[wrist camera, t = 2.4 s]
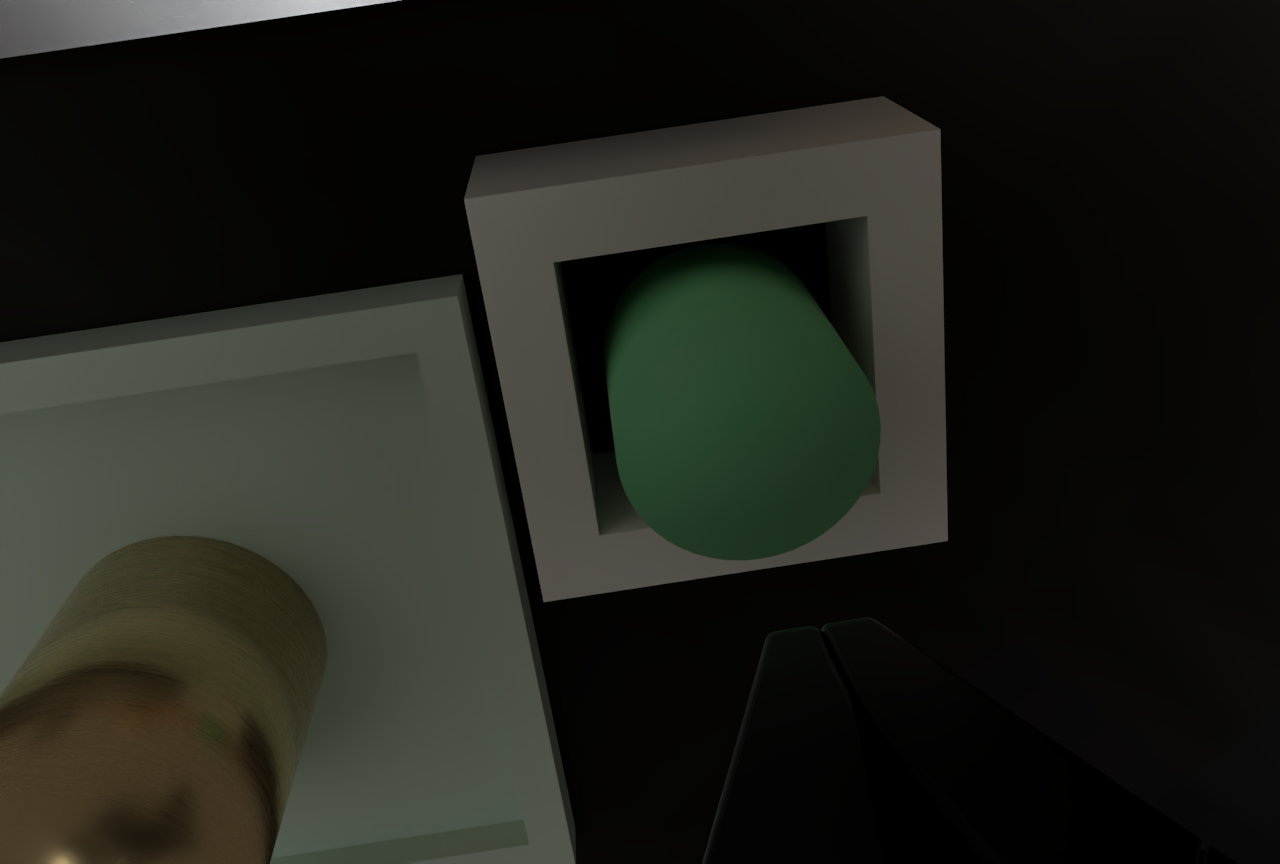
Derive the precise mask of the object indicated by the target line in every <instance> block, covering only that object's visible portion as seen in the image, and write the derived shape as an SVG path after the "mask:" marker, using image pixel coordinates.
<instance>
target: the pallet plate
mask: <svg viewBox="0 0 1280 864" xmlns="http://www.w3.org/2000/svg"><path fill="white" fill-rule="evenodd" d="M394 1H400V0H0V58H7V57H14V56H21V55H28V54H35V53H42V52H49V51H56V50H63V49H69V48H76V47H83V46H90V45H97V44H104V43H111V42H118V41H125V40H131V39H138V38H145V37H152V36H159V35H166V34H173V33H180V32H187V31H194V30H200V29H207V28H214V27H221V26H228V25H235V24H242V23H249V22H256V21H263V20H269V19H276V18H283V17H290V16H297V15H304V14H311V13H318V12H325V11H331V10H338V9H345V8H352V7H359V6H366V5H373V4H380V3H387V2H394Z"/></svg>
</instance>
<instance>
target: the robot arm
mask: <svg viewBox="0 0 1280 864" xmlns="http://www.w3.org/2000/svg"><path fill="white" fill-rule="evenodd" d="M702 864H1238V863H1236V862H1235V861H1233V860H1232V859H1230V858H1229V857H1227V856H1226V855H1224V854H1223V853H1221V852H1220V851H1218V850H1217V849H1215V848H1213V847H1207V848H1206V849H1205V850H1204V843H1203V841H1202V840H1201V839H1200V838H1198V837H1197V836H1195V835H1194V834H1192V833H1191V832H1189V831H1188V830H1186V829H1185V828H1183V827H1182V826H1181V825H1179V824H1178V823H1176V822H1175V821H1173V820H1172V819H1170V818H1169V817H1167V816H1166V815H1164V814H1163V813H1161V812H1160V811H1158V810H1157V809H1155V808H1154V807H1152V806H1151V805H1149V804H1148V803H1146V802H1145V801H1143V800H1142V799H1140V798H1139V797H1138V796H1136V795H1135V794H1133V793H1132V792H1130V791H1129V790H1127V789H1126V788H1124V787H1123V786H1121V785H1120V784H1118V783H1117V782H1115V781H1114V780H1112V779H1111V778H1109V777H1108V776H1106V775H1105V774H1103V773H1102V772H1100V771H1099V770H1097V769H1096V768H1094V767H1093V766H1092V765H1090V764H1089V763H1087V762H1086V761H1084V760H1083V759H1081V758H1080V757H1078V756H1077V755H1075V754H1074V753H1072V752H1071V751H1069V750H1068V749H1066V748H1065V747H1063V746H1062V745H1060V744H1059V743H1057V742H1056V741H1054V740H1053V739H1051V738H1050V737H1048V736H1047V735H1046V734H1044V733H1043V732H1041V731H1040V730H1038V729H1037V728H1035V727H1034V726H1032V725H1031V724H1029V723H1028V722H1026V721H1025V720H1023V719H1022V718H1020V717H1019V716H1017V715H1016V714H1014V713H1013V712H1011V711H1010V710H1008V709H1007V708H1005V707H1004V706H1003V705H1001V704H1000V703H998V702H997V701H995V700H994V699H992V698H991V697H989V696H988V695H986V694H985V693H983V692H982V691H980V690H979V689H977V688H976V687H974V686H973V685H971V684H970V683H968V682H967V681H965V680H964V679H962V678H961V677H959V676H958V675H957V674H955V673H954V672H952V671H951V670H949V669H948V668H946V667H945V666H943V665H942V664H940V663H939V662H937V661H936V660H934V659H933V658H931V657H930V656H928V655H927V654H925V653H924V652H922V651H921V650H919V649H918V648H916V647H915V646H914V645H912V644H911V643H909V642H908V641H906V640H905V639H903V638H902V637H900V636H899V635H897V634H896V633H894V632H893V631H891V630H890V629H888V628H887V627H885V626H884V625H882V624H881V623H879V622H878V621H876V620H874V619H872V618H859V619H853V620H846V621H840V622H833V623H828V624H825V625H824V626H823V627H822V629H821V632H820V630H819V629H818V628H816V627H813V626H807V627H801V628H794V629H787V630H781V631H775V632H771V633H770V634H769V635H768V636H767V638H766V640H765V643H764V646H763V650H762V653H761V657H760V660H759V664H758V668H757V671H756V675H755V678H754V682H753V685H752V689H751V692H750V696H749V699H748V703H747V707H746V710H745V714H744V717H743V721H742V724H741V728H740V731H739V735H738V738H737V742H736V745H735V749H734V753H733V756H732V760H731V763H730V767H729V770H728V774H727V777H726V781H725V784H724V788H723V791H722V795H721V799H720V802H719V806H718V809H717V813H716V816H715V820H714V823H713V827H712V830H711V834H710V838H709V841H708V845H707V848H706V852H705V855H704V859H703V862H702Z"/></svg>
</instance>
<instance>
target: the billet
mask: <svg viewBox="0 0 1280 864" xmlns="http://www.w3.org/2000/svg"><path fill="white" fill-rule="evenodd" d="M326 660H327V645H326V637H325V633H324V628H323V625H322V623H321V620H320V617H319V615H318V613H317V611H316V609H315V607H314V605H313V604H312V602H311V600H310V599H309V598H308V596H307V595H306V594H305V592H304V591H303V590H302V588H301V587H300V586H299V585H298V584H297V583H296V582H295V581H294V580H293V579H292V578H291V577H290V576H289V575H288V574H286V573H285V572H284V571H283V570H282V569H280V568H279V567H278V566H276V565H275V564H273V563H272V562H270V561H269V560H267V559H265V558H264V557H262V556H260V555H258V554H256V553H254V552H252V551H250V550H248V549H246V548H243V547H240V546H237V545H234V544H232V543H229V542H225V541H220V540H216V539H212V538H205V537H197V536H166V537H157V538H152V539H147V540H142V541H139V542H136V543H133V544H130V545H127V546H124V547H122V548H120V549H118V550H116V551H114V552H112V553H110V554H109V555H107V556H106V557H104V558H103V559H101V560H100V561H98V562H97V563H96V564H95V565H94V566H93V567H92V568H91V569H89V570H88V571H87V572H86V573H85V575H84V576H83V577H82V578H81V580H80V581H79V582H78V583H77V585H76V586H75V588H74V589H73V591H72V592H71V593H70V595H69V596H68V598H67V599H66V601H65V602H64V604H63V605H62V607H61V608H60V609H59V611H58V612H57V614H56V615H55V617H54V618H53V620H52V621H51V623H50V624H49V625H48V627H47V628H46V630H45V631H44V633H43V634H42V636H41V637H40V639H39V640H38V641H37V643H36V644H35V646H34V647H33V649H32V650H31V652H30V653H29V655H28V656H27V657H26V659H25V660H24V662H23V663H22V665H21V666H20V668H19V669H18V671H17V672H16V673H15V675H14V676H13V678H12V679H11V681H10V682H9V684H8V685H7V687H6V688H5V689H4V691H3V692H2V694H1V695H0V864H270V861H271V857H272V854H273V850H274V847H275V843H276V840H277V836H278V833H279V829H280V826H281V822H282V819H283V815H284V812H285V808H286V805H287V801H288V798H289V794H290V791H291V788H292V784H293V781H294V777H295V774H296V770H297V767H298V763H299V760H300V756H301V753H302V749H303V746H304V742H305V739H306V735H307V732H308V728H309V725H310V721H311V718H312V714H313V711H314V708H315V704H316V701H317V697H318V694H319V690H320V687H321V683H322V680H323V676H324V672H325V669H326Z"/></svg>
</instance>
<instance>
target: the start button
mask: <svg viewBox="0 0 1280 864" xmlns="http://www.w3.org/2000/svg"><path fill="white" fill-rule="evenodd" d="M603 354H604V366H605V375H606V383H607V390H608V398H609V406H610V414H611V422H612V430H613V438H614V446H615V454H616V462H617V468H618V472H619V477H620V481H621V483H622V486H623V488H624V491H625V494H626V496H627V497H628V499H629V501H630V503H631V504H632V506H633V508H634V509H635V511H636V512H637V513H638V514H639V516H640V517H641V518H642V520H643V521H644V522H645V523H646V524H647V525H648V526H649V527H650V528H651V529H653V530H654V531H655V532H656V533H657V534H659V535H660V536H661V537H663V538H664V539H666V540H667V541H669V542H671V543H672V544H674V545H676V546H678V547H680V548H682V549H684V550H687V551H689V552H692V553H694V554H698V555H702V556H705V557H709V558H715V559H722V560H743V561H744V560H755V559H762V558H767V557H772V556H777V555H780V554H783V553H786V552H789V551H792V550H794V549H797V548H799V547H801V546H803V545H805V544H807V543H809V542H811V541H813V540H814V539H816V538H818V537H819V536H821V535H822V534H824V533H825V532H826V531H828V530H829V529H830V528H832V527H833V526H834V525H836V524H837V523H838V522H839V521H840V520H841V519H842V518H843V517H844V516H845V515H846V514H847V513H848V512H849V510H850V509H851V508H852V507H853V505H854V504H855V503H856V502H857V501H858V499H859V497H860V496H861V494H862V493H863V491H864V489H865V488H866V486H867V484H868V482H869V480H870V477H871V475H872V473H873V470H874V467H875V464H876V461H877V458H878V452H879V446H880V435H881V424H880V415H879V409H878V405H877V401H876V398H875V394H874V392H873V390H872V387H871V385H870V383H869V381H868V379H867V377H866V376H865V374H864V373H863V371H862V369H861V368H860V366H859V365H858V363H857V362H856V360H855V359H854V357H853V356H852V354H851V353H850V352H849V350H848V349H847V347H846V346H845V344H844V343H843V341H842V340H841V338H840V337H839V335H838V334H837V332H836V331H835V329H834V328H833V326H832V325H831V323H830V322H829V320H828V319H827V317H826V316H825V314H824V313H823V311H822V310H821V308H820V307H819V305H818V304H817V303H816V301H815V300H814V298H813V297H812V295H811V294H810V292H809V291H808V289H807V288H806V286H805V285H804V283H803V282H802V281H801V280H800V279H799V278H798V276H797V275H796V274H795V273H794V272H793V271H791V270H790V269H789V268H788V267H787V266H786V265H785V264H783V263H782V262H780V261H779V260H777V259H775V258H774V257H772V256H770V255H768V254H766V253H764V252H762V251H759V250H756V249H753V248H750V247H747V246H742V245H736V244H726V243H712V244H701V245H696V246H692V247H687V248H684V249H681V250H679V251H676V252H673V253H671V254H669V255H667V256H665V257H663V258H661V259H659V260H658V261H656V262H655V263H653V264H652V265H650V266H649V267H647V268H646V269H645V270H644V271H642V272H641V273H640V274H639V275H638V276H637V277H636V278H635V279H634V280H633V281H632V282H631V283H630V284H629V286H628V287H627V288H626V289H625V291H624V292H623V294H622V295H621V296H620V298H619V299H618V301H617V303H616V305H615V307H614V309H613V311H612V313H611V316H610V319H609V322H608V325H607V328H606V334H605V339H604V353H603Z"/></svg>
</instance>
